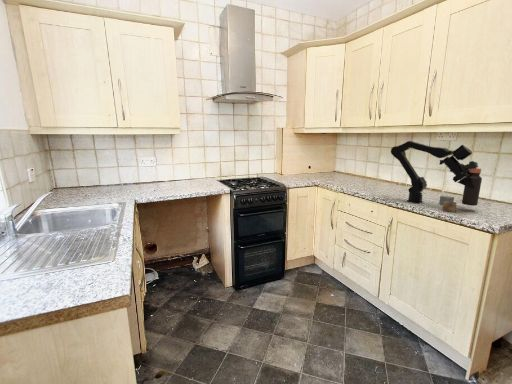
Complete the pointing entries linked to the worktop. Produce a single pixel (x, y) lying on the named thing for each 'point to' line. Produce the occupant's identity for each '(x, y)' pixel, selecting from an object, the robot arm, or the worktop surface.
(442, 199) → the slate cube
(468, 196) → the vinegar
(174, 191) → the worktop surface
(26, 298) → the worktop surface
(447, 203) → the walnut cube
